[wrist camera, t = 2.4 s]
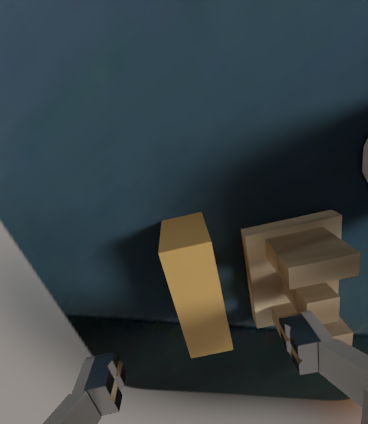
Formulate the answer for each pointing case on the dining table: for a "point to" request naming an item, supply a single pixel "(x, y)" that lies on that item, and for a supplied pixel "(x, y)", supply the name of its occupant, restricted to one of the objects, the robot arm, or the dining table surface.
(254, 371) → the dining table surface
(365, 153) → the white cup
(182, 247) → the tan rectangular block
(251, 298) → the display stand
